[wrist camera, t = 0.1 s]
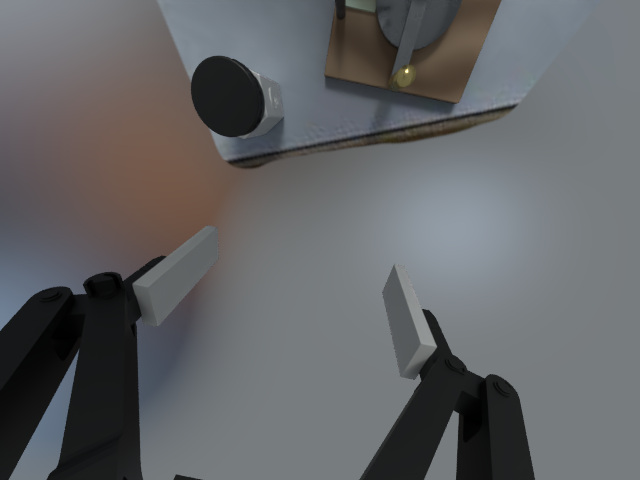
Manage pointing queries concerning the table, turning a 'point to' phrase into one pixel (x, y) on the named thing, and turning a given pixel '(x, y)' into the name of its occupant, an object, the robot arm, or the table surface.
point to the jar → (235, 98)
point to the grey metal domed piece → (412, 31)
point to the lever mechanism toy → (430, 62)
